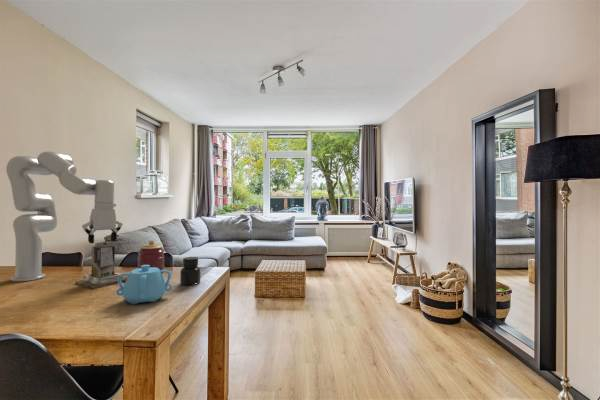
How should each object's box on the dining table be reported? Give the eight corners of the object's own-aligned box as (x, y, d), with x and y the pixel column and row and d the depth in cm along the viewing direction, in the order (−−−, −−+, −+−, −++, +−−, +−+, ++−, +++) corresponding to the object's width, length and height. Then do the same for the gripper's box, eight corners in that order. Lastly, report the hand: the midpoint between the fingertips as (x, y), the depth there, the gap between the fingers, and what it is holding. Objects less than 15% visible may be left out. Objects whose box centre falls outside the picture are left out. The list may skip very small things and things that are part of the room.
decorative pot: (111, 302, 113) (112, 266, 113) (150, 291, 127) (150, 259, 127) (137, 310, 105) (138, 272, 105) (175, 297, 119) (176, 263, 119)
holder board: (75, 283, 137) (75, 276, 137) (111, 276, 151) (111, 269, 151) (92, 289, 129) (92, 281, 129) (129, 280, 142) (129, 273, 143)
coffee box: (114, 279, 140) (115, 246, 140) (99, 283, 135) (100, 247, 135) (105, 277, 145) (106, 244, 145) (90, 279, 140) (91, 246, 140)
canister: (131, 275, 153) (132, 241, 153) (148, 269, 166) (148, 238, 166) (154, 276, 151) (154, 242, 151) (169, 270, 164) (169, 239, 164)
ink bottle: (204, 281, 143) (204, 256, 144) (195, 286, 135) (196, 260, 135) (185, 280, 144) (185, 256, 145) (175, 285, 136) (176, 259, 136)
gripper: (118, 205, 149) (117, 239, 149) (79, 205, 134) (77, 243, 134) (126, 206, 145) (125, 240, 145) (87, 206, 131) (86, 244, 130)
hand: (102, 241), depth 140 cm, fingers open, 9 cm apart
